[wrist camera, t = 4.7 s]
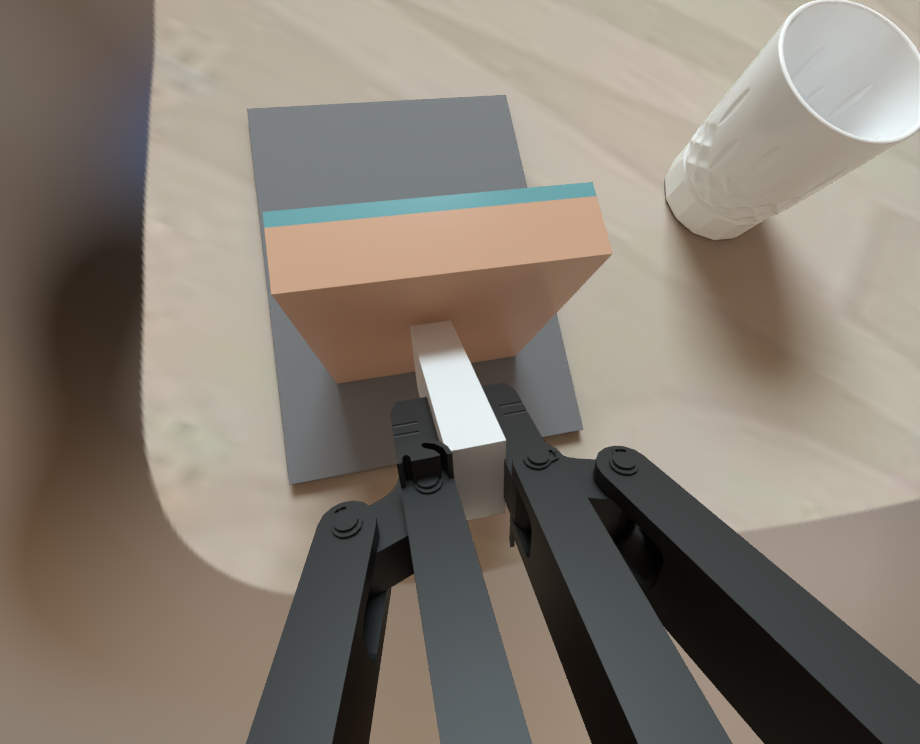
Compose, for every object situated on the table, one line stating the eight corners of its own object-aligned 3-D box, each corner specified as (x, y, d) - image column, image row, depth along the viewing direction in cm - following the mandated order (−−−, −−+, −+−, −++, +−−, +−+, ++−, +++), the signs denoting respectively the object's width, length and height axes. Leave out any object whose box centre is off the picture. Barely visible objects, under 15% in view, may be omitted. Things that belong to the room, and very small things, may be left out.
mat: (579, 430, 25) (583, 429, 25) (292, 484, 23) (289, 484, 22) (503, 102, 29) (505, 94, 29) (250, 116, 27) (247, 108, 26)
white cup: (781, 229, 30) (963, 118, 20) (688, 265, 29) (837, 163, 19) (728, 132, 31) (876, -17, 21) (635, 162, 30) (749, 16, 20)
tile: (515, 356, 25) (612, 253, 13) (336, 383, 23) (271, 294, 12) (506, 314, 26) (592, 182, 14) (331, 339, 24) (262, 212, 12)
